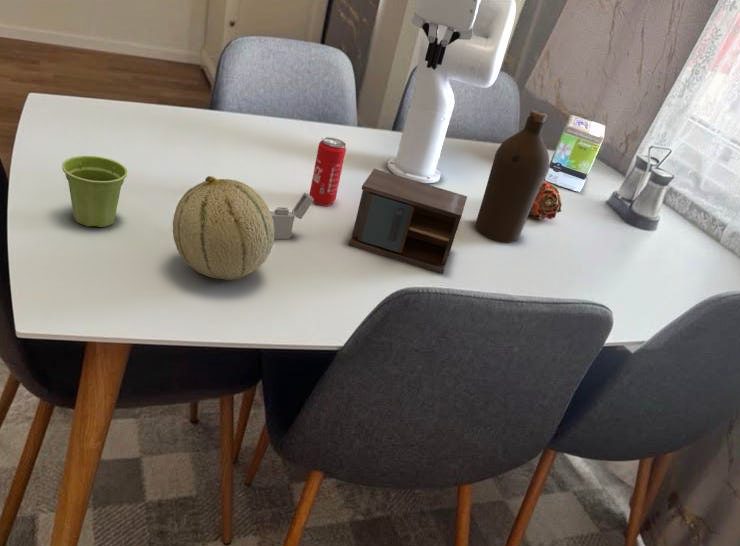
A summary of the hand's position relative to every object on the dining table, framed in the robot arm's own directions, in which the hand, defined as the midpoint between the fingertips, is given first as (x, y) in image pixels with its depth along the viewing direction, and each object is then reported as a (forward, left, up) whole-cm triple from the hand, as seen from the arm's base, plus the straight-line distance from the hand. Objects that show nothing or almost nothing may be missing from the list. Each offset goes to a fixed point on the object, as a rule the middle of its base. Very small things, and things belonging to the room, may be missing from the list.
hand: (431, 67), depth 124 cm
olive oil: (-14, +18, -29) cm, 37 cm away
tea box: (-66, +20, -29) cm, 75 cm away
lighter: (+25, -9, -29) cm, 40 cm away
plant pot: (+46, -32, -29) cm, 63 cm away
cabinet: (+11, +7, -29) cm, 32 cm away
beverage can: (+6, -13, -29) cm, 33 cm away
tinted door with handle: (+18, +6, -28) cm, 34 cm away
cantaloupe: (+44, -9, -29) cm, 54 cm away
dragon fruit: (-32, +21, -29) cm, 48 cm away
